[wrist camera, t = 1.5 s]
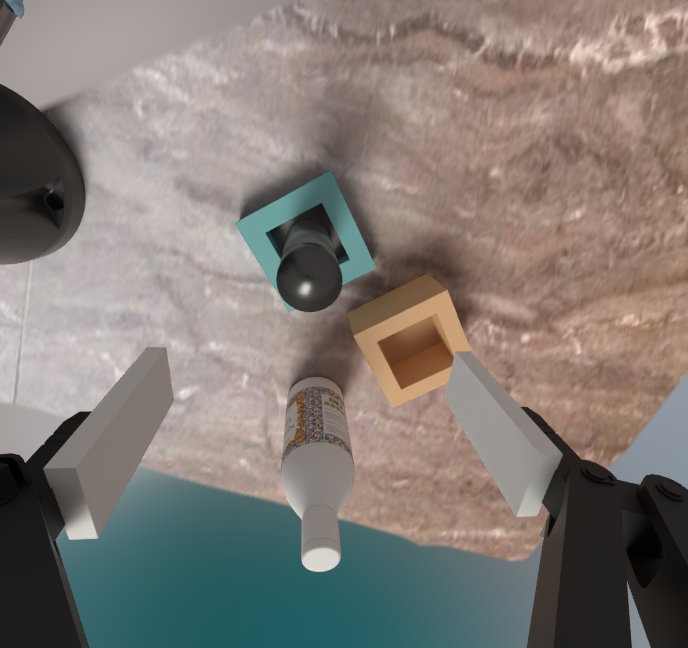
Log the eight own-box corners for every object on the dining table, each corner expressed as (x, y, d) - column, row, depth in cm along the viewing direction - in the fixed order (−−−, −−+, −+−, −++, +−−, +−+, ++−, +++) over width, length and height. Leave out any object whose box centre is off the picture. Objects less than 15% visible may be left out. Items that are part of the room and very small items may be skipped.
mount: (239, 219, 35) (234, 223, 32) (329, 170, 34) (331, 171, 31) (290, 303, 39) (289, 311, 36) (372, 261, 38) (376, 267, 35)
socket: (346, 312, 40) (353, 335, 34) (427, 272, 39) (447, 289, 33) (381, 378, 44) (392, 408, 38) (455, 343, 43) (477, 369, 37)
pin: (278, 232, 35) (263, 267, 23) (317, 211, 35) (323, 236, 22) (300, 269, 37) (297, 322, 24) (337, 250, 37) (353, 294, 24)
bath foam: (300, 367, 42) (295, 518, 24) (351, 385, 44) (384, 539, 26) (278, 411, 44) (259, 580, 26) (328, 426, 46) (343, 595, 28)
